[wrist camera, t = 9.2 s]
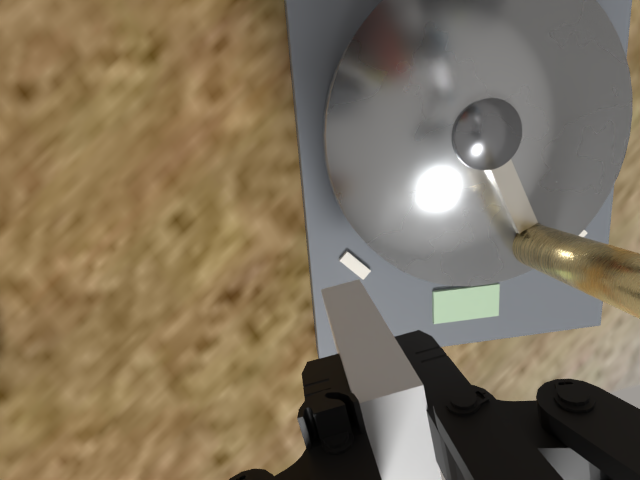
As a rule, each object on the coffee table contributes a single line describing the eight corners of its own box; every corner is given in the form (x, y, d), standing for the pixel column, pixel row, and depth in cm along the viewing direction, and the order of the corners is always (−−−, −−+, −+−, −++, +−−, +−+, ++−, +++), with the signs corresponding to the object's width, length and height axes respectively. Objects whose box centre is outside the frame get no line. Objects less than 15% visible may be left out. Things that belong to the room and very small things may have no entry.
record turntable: (273, -111, 17) (274, -190, 13) (616, -120, 18) (710, -194, 14) (316, 349, 22) (326, 393, 18) (580, 314, 24) (642, 348, 20)
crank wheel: (407, 327, 20) (511, 468, 11) (262, 73, 17) (248, -10, 8) (645, 188, 20) (943, 221, 11) (549, -101, 16) (873, -393, 8)
